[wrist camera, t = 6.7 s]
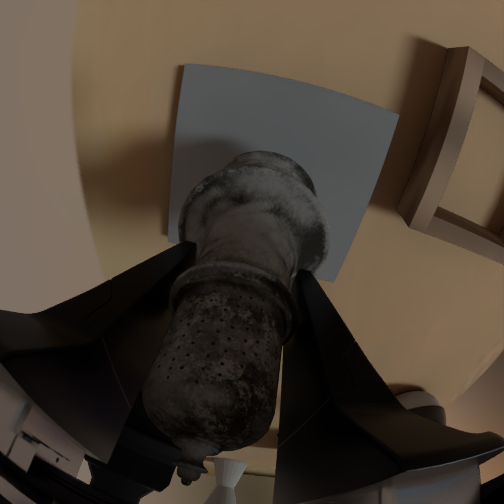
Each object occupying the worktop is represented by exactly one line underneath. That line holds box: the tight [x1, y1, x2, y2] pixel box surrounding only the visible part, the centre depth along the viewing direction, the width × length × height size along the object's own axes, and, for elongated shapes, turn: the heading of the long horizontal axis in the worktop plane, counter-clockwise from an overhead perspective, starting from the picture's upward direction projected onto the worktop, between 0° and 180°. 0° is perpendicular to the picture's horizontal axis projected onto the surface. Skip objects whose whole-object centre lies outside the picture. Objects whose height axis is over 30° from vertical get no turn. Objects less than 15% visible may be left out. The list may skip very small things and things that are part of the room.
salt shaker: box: [142, 150, 331, 486], centre depth 9 cm, size 6×6×12 cm
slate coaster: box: [168, 64, 399, 283], centre depth 16 cm, size 12×12×1 cm
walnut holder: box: [397, 46, 504, 265], centre depth 12 cm, size 11×11×2 cm
